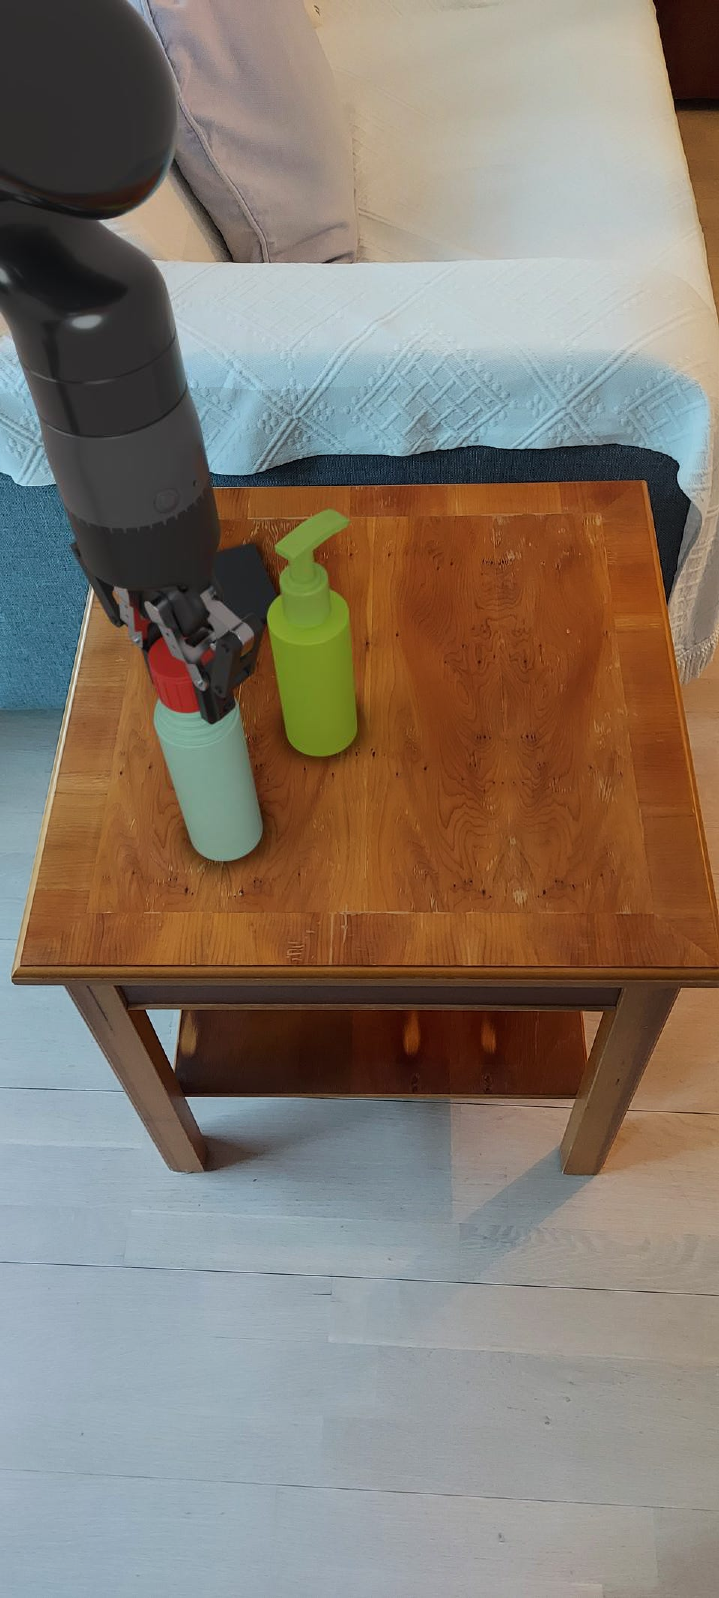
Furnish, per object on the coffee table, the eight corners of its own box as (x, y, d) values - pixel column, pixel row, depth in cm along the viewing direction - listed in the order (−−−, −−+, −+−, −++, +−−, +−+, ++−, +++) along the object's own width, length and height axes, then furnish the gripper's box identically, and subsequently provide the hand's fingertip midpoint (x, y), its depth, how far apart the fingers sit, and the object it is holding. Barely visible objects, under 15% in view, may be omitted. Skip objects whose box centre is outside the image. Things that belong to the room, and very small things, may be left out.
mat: (177, 647, 88) (176, 643, 87) (152, 574, 93) (150, 569, 93) (285, 617, 90) (284, 612, 89) (254, 546, 95) (253, 541, 94)
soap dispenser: (380, 717, 82) (372, 526, 66) (322, 768, 80) (298, 582, 63) (329, 682, 85) (309, 489, 68) (271, 730, 82) (235, 542, 66)
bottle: (200, 871, 75) (148, 706, 59) (182, 813, 78) (128, 641, 62) (272, 848, 76) (239, 680, 60) (251, 791, 79) (214, 618, 63)
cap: (235, 685, 63) (228, 649, 61) (189, 724, 62) (179, 689, 59) (190, 655, 65) (181, 619, 62) (144, 692, 63) (133, 657, 60)
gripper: (288, 491, 49) (315, 715, 63) (96, 386, 54) (160, 614, 68) (176, 575, 46) (231, 791, 60) (-15, 455, 51) (76, 679, 65)
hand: (193, 695), depth 64 cm, fingers closed on cap, 4 cm apart
